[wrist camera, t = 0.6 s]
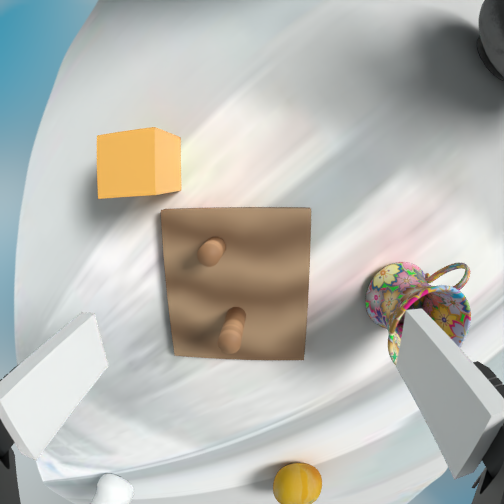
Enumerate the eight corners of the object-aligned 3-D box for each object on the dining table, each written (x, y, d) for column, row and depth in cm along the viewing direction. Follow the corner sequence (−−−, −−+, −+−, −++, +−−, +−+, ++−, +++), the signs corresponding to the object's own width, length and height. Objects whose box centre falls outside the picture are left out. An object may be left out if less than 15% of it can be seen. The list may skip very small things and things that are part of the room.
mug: (392, 339, 36) (423, 387, 26) (344, 300, 35) (369, 346, 25) (452, 269, 34) (500, 299, 23) (409, 222, 33) (457, 241, 22)
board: (165, 208, 34) (136, 218, 26) (309, 207, 33) (320, 216, 25) (177, 349, 38) (159, 385, 31) (302, 353, 37) (308, 392, 30)
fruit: (321, 477, 44) (325, 511, 36) (277, 483, 45) (276, 517, 37) (318, 450, 42) (322, 488, 34) (269, 457, 43) (267, 494, 35)
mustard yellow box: (131, 142, 33) (97, 135, 25) (180, 137, 32) (154, 127, 24) (132, 193, 34) (98, 198, 26) (181, 190, 34) (155, 195, 26)
